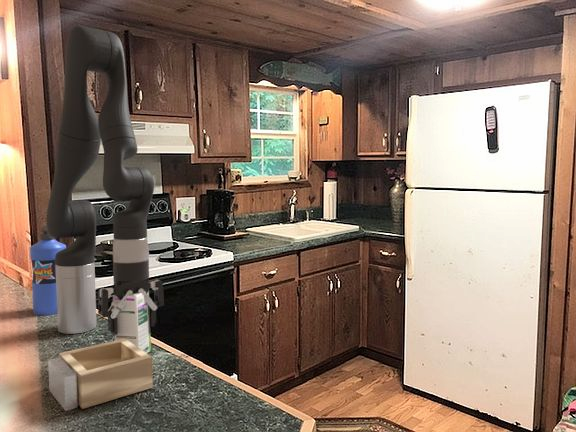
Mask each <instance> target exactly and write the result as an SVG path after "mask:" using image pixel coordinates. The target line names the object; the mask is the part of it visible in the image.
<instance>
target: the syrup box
mask: <svg viewBox="0 0 576 432" xmlns="http://www.w3.org/2000/svg"><path fill="white" fill-rule="evenodd" d="M147 295H148V296H149V297H150V290H149V291H148V293H147ZM112 302H113V304H114V303H117V304H118V303H119V302H120V300H119V298H118V297H117V296H116V295H114V294H113V295H112ZM114 308H115V306H114ZM116 318H117V328H118V334H117V335H114V341H116V340H120V339H124V338H125V339H127V340H128V341H130V342H131V343H132V344H134V345H135V346H137V347H138V348H140V349H141V350H143V351H144V352H146V353H147V354H149V352H151V351H152V344H151V343H152V342H151V341H152V339H151V327H150V309H149V306H148V304H147V303H146V301H145V300H144V295H143V294H142V293H138V292H136V293H132V294H130V295H128V296H127V297H126V304H125V305H124V307H123V308H122V309H121V310H120V311H119V313H118V314H117V316H116Z"/></svg>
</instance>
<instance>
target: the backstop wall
mask: <svg viewBox="0 0 576 432" xmlns="http://www.w3.org/2000/svg"><path fill="white" fill-rule="evenodd" d="M47 364H48V365H47V366H48V385H49V388H48V390H49V392H50V393H51V394H52V396H53V397H54V399H56V401H57V402H58V404H59V405H60V406H61V407H62V408H63V410H64V412H66V411H67V412H68V411H70V410H73V409H74V410H75V409H77V408H79V407H78V406H79V405H78V403H77V376H76V374H75V372H74V371H73V370H72V369H71V368H70V367H69V366H68V365H67V364H66V363H65V362H64V361H63V360H62V359H61V358H60V357H59V356H58V357H55V358H49V359H48V361H47Z"/></svg>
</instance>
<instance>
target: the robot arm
mask: <svg viewBox="0 0 576 432" xmlns="http://www.w3.org/2000/svg"><path fill="white" fill-rule="evenodd" d="M64 57H65V58H64V59H65V61H64V63H65V64H64V89H63V101H62V108H61V109H62V110H61V117H60V124H59V129H58V137H57V148H56V159H55V167H54V168H55V169H54V175H53V181H52V187H51V189H50V194H49V200H48V203H47V210H46V220H45V223H46V225H47V230H48V233H49V234H50V235H51V236H52V237H54V238H55V239H67V238H75V239H74V241H73V243H71V244H70V245H69V246H66V248H65V249H63V250H61V251H59V252H58V253H57V254H56V255H55V267H56V292H57V314H56V316H57V318H56V319H57V331H58V332H59V333H62V334H67V335H71V334H74V335H76V334H81V333H87V332H90V331H92V330H94V329H95V328H96V327H97V314H98V315H99V316H101V317H103V318H107V331H109V332H110V334H112V335H113V336H115V335H117V334H118V328H117V318H116V316H117V314H118V313H119V311H120V310H121V309H122V308H123V307H124V305H125V304H126V297H127V296H128V295H130V294H132V293H136V292H138V293H142V294H143V295H144V300H145V301H146V303H147V304H148V306H149V309H150V328H152V327H155V324H156V323H157V310H158V309H159V308H160V307H163V306H164V305H165V299H164V298H165V295H164V282H163V280H160V279H157V278H155V279H153V281H150V252H149V249H150V247H149V242H148V223H147V220H148V215H149V211H150V207H151V203H152V199H153V195H154V191H155V180H154V177H153V175H152V173H151V172H150V171H149V169H148V168H145V167H140V166H139V167H138V166H134V167H133V166H132V167H129V166H124V160H129V159H132V158H133V157H135V156H136V155H137V153H138V144H137V140H136V136H135V131H134V128H133V124H132V119H131V115H130V109H129V100H128V99H129V98H128V83H127V82H128V81H127V72H126V69H127V68H126V61H125V52H124V47H123V43H122V41H121V39H120V38H119V36H118V35H117V34H116V33H114V32H110V31H109V30H102V29H98V28H94V27H93V28H92V27H90V26H84V25H77V24H76V25H74V26H72V27H71V29H70V30H69V33H68V34H67V38H66V44H65V56H64ZM88 72H95V73H101V74H104V75H105V77H106V78H105V79H106V81H107V92H106V95H105V98H104V101H103V104H102V106H101V109H100V111H99V113H98V114H97V113H96V111H95V109H94V107H93V105H92V103H91V100H90V97H89V95H88V90H87V89H88V87H87V76H88ZM101 144H102V148H103V173H102V174H103V175H102V185H103V190H104V192H105V194H106V195H107V196H108V197H109V198H110V199H112V200H115V201H125V200H126V201H128V200H130V202H129V204H128V206H127V207H126V208H125V209H122V210H120V211H118V212H116V213H114V215H113V216H112V217H113V219H112V223H113V224H112V227H113V242H112V244H113V245H112V270H113V271H112V274H113V277H112V278H113V286H112V287H107V288H104V287H99V289H98V302H97V298H96V273H95V271H96V270H95V267H96V266H95V255H96V249H97V247H96V245H97V243H96V242H97V241H96V239H97V238H96V237H97V236H96V235H97V234H96V233H97V213H96V208H95V206H94V205H93V203H92V202H91V201H89V200H87V199H86V200H84V199H83V200H71V197H72V194H73V192H74V190H75V187H76V186H77V185H78V184H79V182H80V181H81V179H83V177H84V176H85V175H86V174H87V172H89V170H90V169H91V167H93V165H94V164H95V162H96V161H97V159H98V158H99V153H100V147H101ZM151 289H152V290H153V297H154V298H153V299H154V301H153V299H152V298H151V297H150V295H149V296H148V295H147V293H148V291H149V292H150V290H151ZM112 294H113V296H114V295H116V296H117V297H118V298H119V300H120V302H119V303H118V304H117V303H114V304H113V301H112V302H111V305H110V307H109V299H110V298H111V295H112ZM97 305H98V307H97ZM114 306H115V308H114ZM97 308H98V309H97Z"/></svg>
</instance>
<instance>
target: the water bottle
mask: <svg viewBox="0 0 576 432" xmlns="http://www.w3.org/2000/svg"><path fill="white" fill-rule="evenodd" d="M39 231H40V232H39V235H38V236H39V241H38V242H37V243H34V244H32V245H31V246H29V259H30V261H31V266H32V281H31V287H32V288H31V291H32V294H31V295H32V311H33V312H34V313H35V314H34V313H33V312H32V313H33V314H34V315H36V314H38V315H37V316H52V315H53V316H54V315H57V292H56V267H55V255H56V254H57V253H58V252H59V251H61V250H63V249H65V248H67V245H66V244H64V243H62V242H59V241H58V240H56V238H54V237H52V236H51V235H50V234H49V233H48V230H47V225H45V224H44V225H43V226H42V227H41V228H40V229H39Z"/></svg>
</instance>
